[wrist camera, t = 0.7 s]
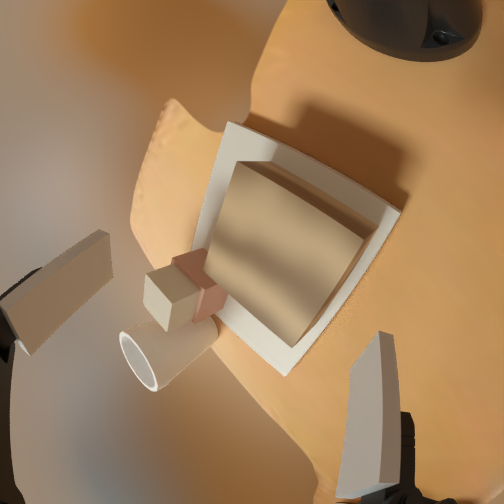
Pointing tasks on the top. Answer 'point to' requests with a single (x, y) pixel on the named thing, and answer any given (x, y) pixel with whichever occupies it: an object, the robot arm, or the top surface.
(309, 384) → the top surface
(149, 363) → the foam cup
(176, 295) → the terracotta tower
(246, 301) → the oak plinth
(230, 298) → the white board
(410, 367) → the top surface
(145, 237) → the top surface
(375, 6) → the robot arm
